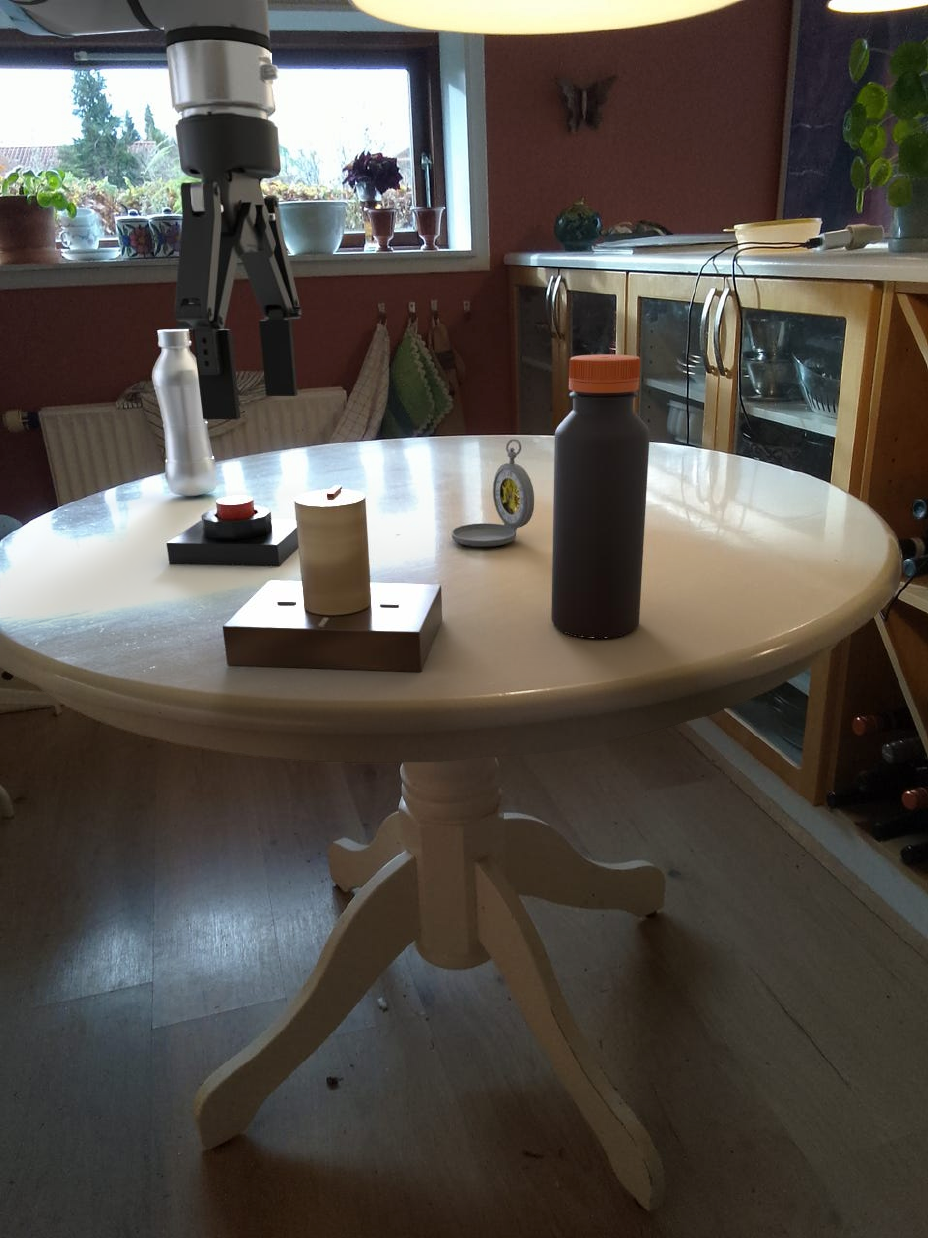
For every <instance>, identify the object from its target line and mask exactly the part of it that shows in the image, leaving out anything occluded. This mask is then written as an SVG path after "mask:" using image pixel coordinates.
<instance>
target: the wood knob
mask: <svg viewBox="0 0 928 1238" xmlns="http://www.w3.org/2000/svg"><path fill="white" fill-rule="evenodd" d="M293 502H294V514H295V520H296V526H297V537H298V557H299V558H298V559H299V569H300V581H302V592H303V604H304V608H305V609H306V610H307V611H309V612H311V613H315V614H320V615H344V614H350V613H355V612H358V611H361V610H363V609H365V608H367V607H368V606H370V604H371V602H372V598H371V583H372V582H371V567H370V566H371V565H370V551H369V533H368V517H367V516H368V515H367V501H366V494H364V493H363V492H360V491H358V490H350V489H343V486H342V485H333V486H332V487H331V488H330V489H322V490H314V491H309V492H305V493H302V494H299V495H297V496H295V498H294V500H293Z"/></svg>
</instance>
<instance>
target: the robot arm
mask: <svg viewBox="0 0 928 1238" xmlns="http://www.w3.org/2000/svg"><path fill="white" fill-rule="evenodd" d="M0 11H1V12H2V13H4V14H6V17H7V18H8V21H9V22H10V24H11V25H13V26H14V27H15V28H16V29H17V30H19V31H20V32H22V33H24V34H27V35H32V36H57V37H58V38H61V39H71V38H74V37H80V36H85V35H86V36H89V35H100V34H114V33H116V34H117V33H131V32H144V31H164V38H165V48H166V59H167V68H168V69H167V70H168V77H169V78H168V79H169V89H170V98H171V107H172V110H174V111H175V113H177V114H178V115H181V119H178V120H177V123H176V124H175V134H176V144H177V152H178V160H179V168H180V171H181V172H182V173H183V175H184V176H186V177H189V178H192V179H193V178H194V179H200V181H191V182H181V184H180V199H181V213H182V214H181V215H182V217H181V227H180V228H181V229H180V238H179V239H180V241H179V251H178V262H177V263H178V264H177V276H176V287H175V297H174V298H175V299H174V318H175V319H176V323H177V327H178V329H188V330H192V337H193V345H194V353H195V357H196V362H197V371H198V379H199V388H200V396H201V405H202V413H203V419H206V420H239V419H241V410H240V409H241V408H240V400H239V399H240V398H239V389H238V380H237V370H236V361H235V351H234V341H233V332H232V328H225V325H226V321H227V315H228V311H229V306H230V301H231V296H232V292H233V286H234V281H235V277H236V271H237V267H238V261H239V259H240V260H241V262H242V265H243V267H244V271H245V272H246V276H247V278H248V280H249V283H250V285H251V288H252V290H253V293H254V295H255V298H256V300H257V303H258V305H259V309H260V311H261V313H262V316H263V318H264V319H260V320H258V325H259V335H260V345H261V356H262V357H261V358H262V369H263V378H264V389H265V390H264V391H265V396H266V397H296V396H298V386H297V375H296V364H295V363H296V362H295V350H294V349H295V348H294V338H293V337H294V336H293V324H292V320H293V319H295V320H297V319H298V320H299V319H301V317H302V308H301V306H300V301H299V297H298V292H297V288H296V284H295V283H296V282H295V280H294V275H293V270H292V266H291V262H290V258H289V252H288V249H287V248H288V247H287V243H286V239H285V235H284V231H283V227H282V221H281V213H280V202H279V199H278V196H277V195H276V194H270V195H267V194H266V195H265V194H263V190H262V189H263V188H262V186H261V182H262V181H263V180H264V179H265V180H266V179H268V180H269V179H272V178H276V177H277V176H279V175H280V174H281V172H282V171H281V170H282V165H281V153H280V152H281V150H280V139H279V128H278V126H277V125H276V124H275V122H274V121H272V120H270V119H269V117H270V118H271V116H272V115H274V113H275V112H276V98H275V86H274V81H275V80H277V79H278V78H279V77H280V70H279V68H278V66H277V65H276V64H273V60H272V45H271V37H270V35H271V34H270V20H269V19H270V18H269V4H268V0H0Z"/></svg>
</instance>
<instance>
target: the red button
mask: <svg viewBox="0 0 928 1238" xmlns="http://www.w3.org/2000/svg"><path fill="white" fill-rule="evenodd" d="M215 506H216V508H215V509H217V516H218V518H221V519H239V518H247V517H250V516H254V515H255V509H254V506H255V501H254V498H253V497H251V496H248V495H232V496H225V497H221V498H219V499H216V501H215Z"/></svg>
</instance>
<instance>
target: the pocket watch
mask: <svg viewBox="0 0 928 1238" xmlns="http://www.w3.org/2000/svg"><path fill="white" fill-rule="evenodd" d="M512 442H516V443H517V444H518V450H517V452H516V451H515V448H514V447H510V448H509V445H510V444H511V443H512ZM505 445H506V447H505V450H506V453H507V457H508V458H509V462H506V463H504V464H501V465H500V466H499V468H497V470H496V472H495V475H494V478H493V482H492V497H493V503H494V507H495V510H496V513H497V514H498V517H499V518H500V520H501V521H502V523H503V524H501V523H490V522H488V523H487V522H483V523H482V522H480V523H479V522H478V523H471V524H470V523H469V524H464V525H460V526H457V527H455V528H453V529H452V530H451V538H452V540H453V541H454V542H456V544H461V545H463V546H467V547H475V548H476V547H477V548H488V547H492V548H493V547H499V546H503V545H507V544H509V543H511V542H513V541H515V539H516V538H517V530H518V529H520V528H523V527H524V526H526V525H527V524H528V523H529V522H530V521H531V519H532V517H533V514H534V510H535V493H534V487H533V483H532V480H531V478H530V476H529V474H528V472H527V471H526V470H525V468H524V467H522V466H521V465H520V464H517V463H516V461H515V458H516V457H517V456H519V454H520V453H521V451H522V444H521V442H520V440H518V439H516V438H511V439H510V440H509V441H508V442H507V443H506V444H505Z"/></svg>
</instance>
